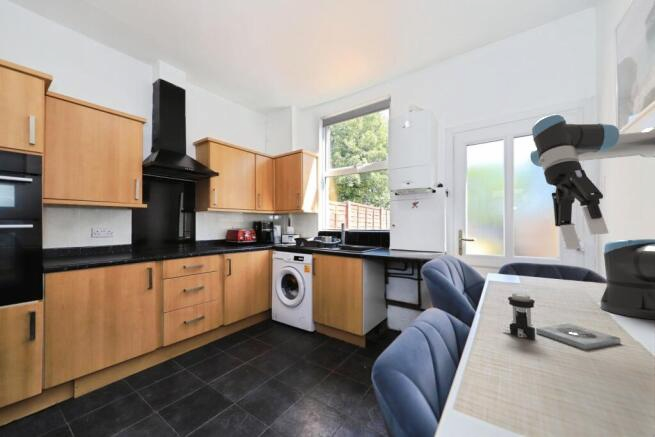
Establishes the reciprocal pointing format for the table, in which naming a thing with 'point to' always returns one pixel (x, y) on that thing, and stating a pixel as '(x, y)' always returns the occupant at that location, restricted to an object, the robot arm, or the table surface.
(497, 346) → the table surface
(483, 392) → the table surface
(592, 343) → the flange plate
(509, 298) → the push button
